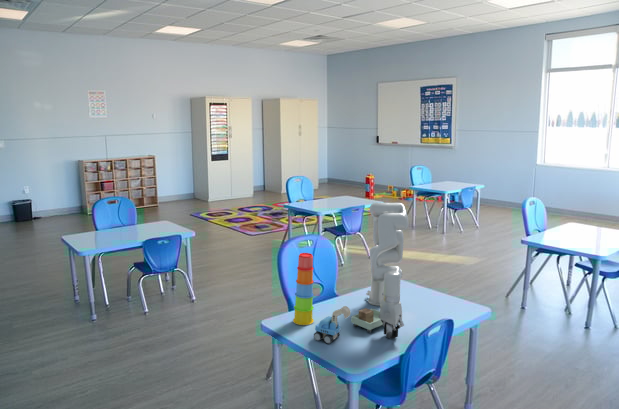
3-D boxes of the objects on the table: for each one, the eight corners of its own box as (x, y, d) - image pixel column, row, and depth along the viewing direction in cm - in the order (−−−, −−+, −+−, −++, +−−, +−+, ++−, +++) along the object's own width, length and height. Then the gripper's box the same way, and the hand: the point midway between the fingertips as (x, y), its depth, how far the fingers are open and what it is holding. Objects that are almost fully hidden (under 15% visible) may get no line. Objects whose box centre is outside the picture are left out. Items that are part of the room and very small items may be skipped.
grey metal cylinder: (383, 336, 230) (384, 324, 229) (390, 333, 233) (390, 321, 232) (391, 339, 227) (391, 327, 226) (397, 336, 230) (397, 324, 229)
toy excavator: (344, 348, 220) (344, 311, 217) (311, 339, 228) (311, 304, 225) (352, 341, 227) (353, 305, 224) (321, 333, 235) (321, 298, 232)
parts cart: (351, 326, 242) (351, 316, 242) (371, 318, 252) (372, 308, 251) (369, 334, 234) (369, 323, 233) (390, 325, 243) (390, 315, 242)
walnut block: (358, 322, 240) (358, 310, 239) (365, 319, 244) (365, 308, 243) (366, 325, 237) (366, 313, 236) (373, 322, 240) (373, 311, 239)
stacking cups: (301, 315, 256) (300, 250, 250) (317, 320, 250) (317, 253, 244) (288, 322, 247) (287, 255, 241) (305, 327, 242) (304, 258, 236)
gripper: (372, 295, 230) (371, 332, 234) (401, 305, 218) (400, 344, 221) (382, 291, 235) (382, 327, 239) (411, 301, 223) (410, 339, 226)
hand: (390, 335), depth 230 cm, fingers closed on grey metal cylinder, 4 cm apart
